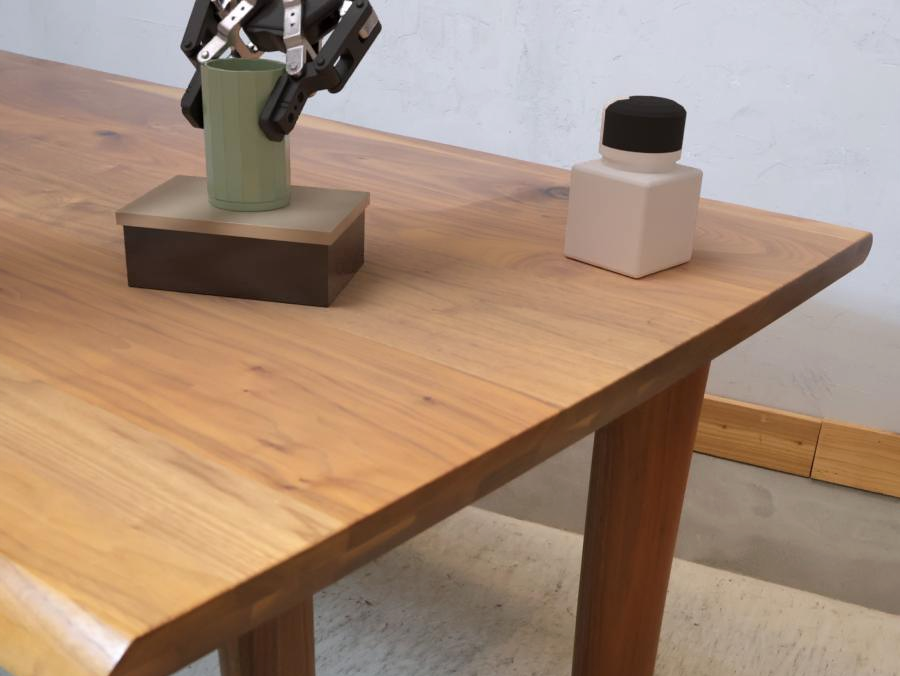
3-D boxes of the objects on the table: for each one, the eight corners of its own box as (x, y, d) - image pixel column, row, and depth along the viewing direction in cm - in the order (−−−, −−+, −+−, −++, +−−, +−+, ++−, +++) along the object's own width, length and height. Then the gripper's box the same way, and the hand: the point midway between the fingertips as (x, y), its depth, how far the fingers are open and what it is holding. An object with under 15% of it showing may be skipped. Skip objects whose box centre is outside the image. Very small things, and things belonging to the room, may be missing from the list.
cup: (195, 207, 77) (187, 67, 73) (224, 187, 82) (218, 55, 78) (276, 214, 76) (272, 73, 72) (300, 194, 81) (298, 61, 77)
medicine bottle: (692, 262, 88) (715, 101, 83) (636, 280, 84) (657, 111, 78) (618, 240, 93) (635, 86, 87) (561, 256, 88) (576, 95, 83)
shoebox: (121, 287, 78) (114, 211, 75) (181, 243, 87) (177, 174, 85) (331, 309, 76) (331, 232, 73) (369, 261, 85) (370, 191, 83)
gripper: (220, -124, 79) (113, 78, 75) (401, -114, 73) (296, 106, 69) (268, -43, 86) (173, 146, 81) (438, -28, 80) (344, 177, 76)
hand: (230, 127), depth 75 cm, fingers closed on cup, 5 cm apart
